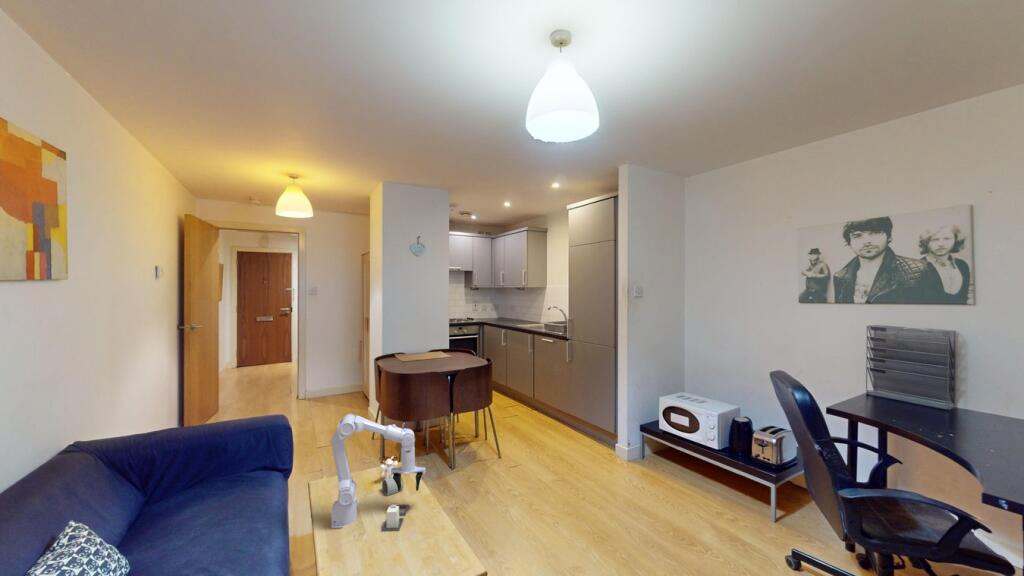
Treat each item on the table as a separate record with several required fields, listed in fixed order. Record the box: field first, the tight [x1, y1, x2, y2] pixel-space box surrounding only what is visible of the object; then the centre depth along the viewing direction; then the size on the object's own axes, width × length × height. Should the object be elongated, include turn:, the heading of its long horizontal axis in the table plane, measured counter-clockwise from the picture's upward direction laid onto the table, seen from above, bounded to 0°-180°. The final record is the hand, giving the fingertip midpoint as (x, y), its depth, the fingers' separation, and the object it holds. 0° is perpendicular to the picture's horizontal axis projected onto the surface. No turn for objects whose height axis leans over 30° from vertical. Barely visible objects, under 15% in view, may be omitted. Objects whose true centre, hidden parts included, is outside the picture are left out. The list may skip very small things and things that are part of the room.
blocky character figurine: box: [379, 456, 399, 479], centre depth 198 cm, size 9×4×12 cm, turn 125°
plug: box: [386, 504, 400, 528], centre depth 161 cm, size 4×4×7 cm
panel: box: [380, 503, 410, 532], centre depth 166 cm, size 9×18×2 cm, turn 2°
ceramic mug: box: [381, 477, 404, 497], centre depth 189 cm, size 11×8×8 cm
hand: (408, 489), depth 172 cm, fingers open, 7 cm apart
